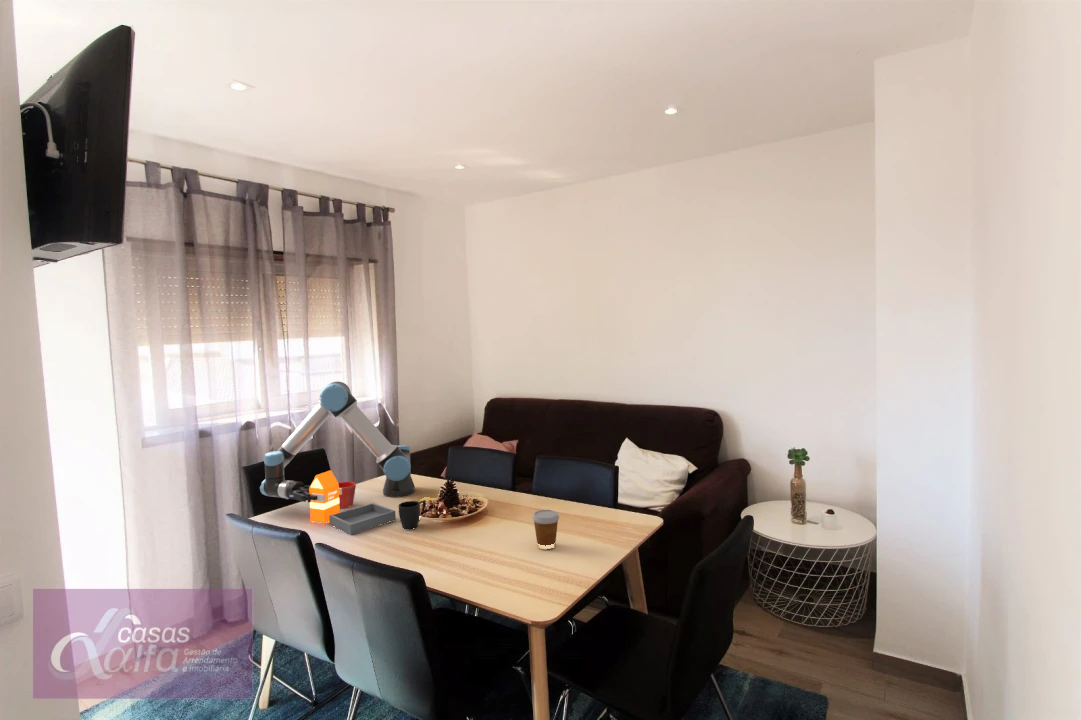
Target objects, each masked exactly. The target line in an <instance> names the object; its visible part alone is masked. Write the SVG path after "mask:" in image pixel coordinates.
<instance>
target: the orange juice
mask: <svg viewBox="0 0 1081 720" xmlns="http://www.w3.org/2000/svg"><path fill="white" fill-rule="evenodd" d="M339 483H340V482H338V479H337V478H336V476H335V475H334V473H333V471H332V470H331V469H330V470H327V471H325V472H321V473H319V474H316V475H315V476H314V479H313V480H312V482H311V484H310V485H309V486H310V488H309V493H310V494H312V493H314V494H323V495H325V502H321V501H313V500H311V502H309V509H310V510H309V512H310V513H309V514H310V522H311V521H314V522H321V523H326V522H328V521H329V515H332V514H336V513H339V512H341V511H340V510H341V508H340V506H339ZM328 523H329V522H328ZM326 524H327V523H326Z"/></svg>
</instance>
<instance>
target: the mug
mask: <svg viewBox="0 0 1081 720" xmlns="http://www.w3.org/2000/svg"><path fill="white" fill-rule="evenodd" d="M421 504H422V507H421ZM426 505H427V504H426V501H425V500H421V501H416V500H407V501H403V502H401V503H399V504H398V516H399V521H400V524H401V527H402V529H403V528H404V529H413V528H415V529H417V528H418V524H419V523H420V521H421V519H420V520H419V516H420V512H421V511H424V512H425V508H426ZM416 527H417V528H416ZM404 529H403V530H404ZM413 530H414V529H413Z"/></svg>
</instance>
